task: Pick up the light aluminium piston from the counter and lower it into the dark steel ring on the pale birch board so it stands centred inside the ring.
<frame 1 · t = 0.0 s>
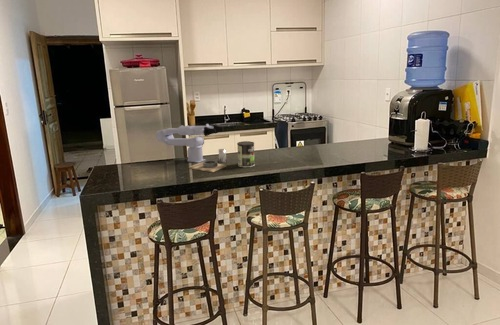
hand: (219, 130, 222), 22 cm above the table, tool horizontal, fingers open, 7 cm apart
steel ring: (210, 167, 221), resting on birch board
aluminium piston: (222, 161, 235), on the table
coffee can: (246, 165, 225), on the table
birch board: (208, 167, 222), on the table
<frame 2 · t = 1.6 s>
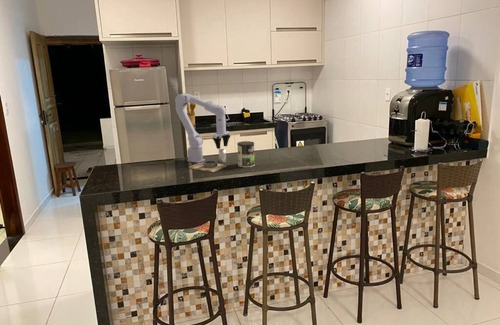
hand: (222, 147, 232), 9 cm above the table, tool pointing down, fingers open, 7 cm apart
nothing on the table moved.
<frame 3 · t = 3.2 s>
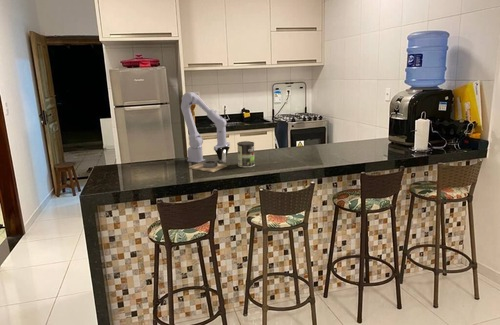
hand: (222, 158, 234), 2 cm above the table, tool pointing down, fingers closed on aluminium piston, 4 cm apart
aluminium piston: (222, 161, 235), on the table, touching gripper
everything else where it was.
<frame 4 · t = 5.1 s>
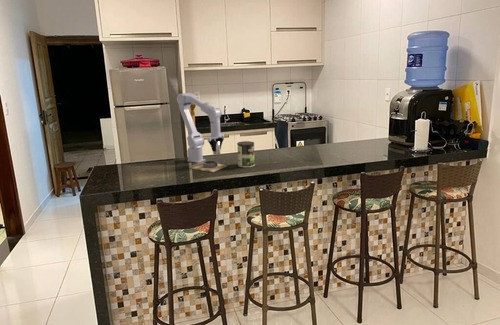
hand: (216, 150, 226), 9 cm above the table, tool pointing down, fingers closed on aluminium piston, 4 cm apart
aluminium piston: (216, 153, 227), point 7 cm above the table, touching gripper
everything else where it was.
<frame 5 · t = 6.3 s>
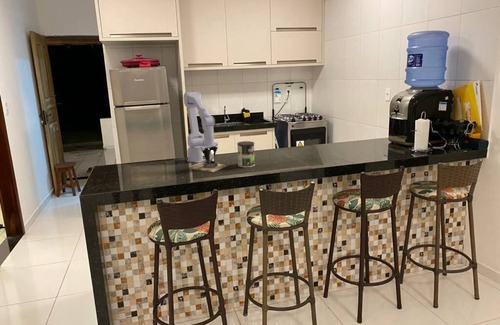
hand: (210, 159, 220), 5 cm above the table, tool pointing down, fingers closed on aluminium piston, 4 cm apart
aluminium piston: (210, 163, 221), point 3 cm above the table, touching gripper
everything else where it was.
when the fingers open (4 cm above the table, at t = 7.3 s): aluminium piston drops 1 cm, resting on birch board.
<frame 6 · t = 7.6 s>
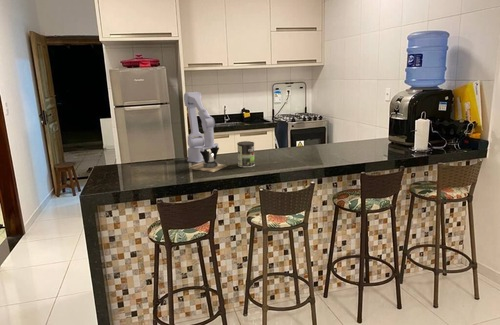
hand: (210, 160, 220), 5 cm above the table, tool pointing down, fingers open, 7 cm apart
aluminium piston: (210, 166, 221), point 1 cm above the table, touching birch board
everything else where it was.
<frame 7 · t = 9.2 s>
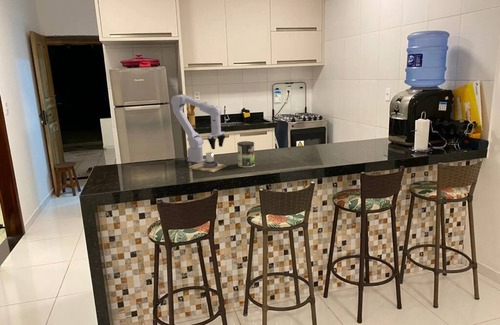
hand: (217, 147, 231), 9 cm above the table, tool pointing down, fingers open, 7 cm apart
nothing on the table moved.
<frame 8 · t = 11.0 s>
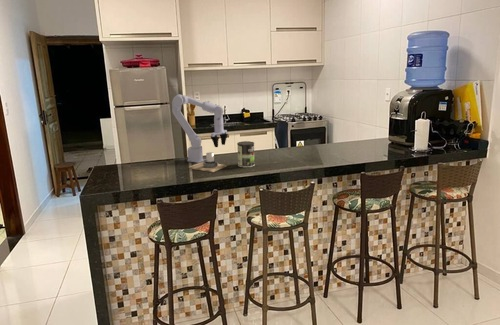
hand: (219, 145, 237), 9 cm above the table, tool pointing down, fingers open, 7 cm apart
nothing on the table moved.
at the end: aluminium piston 0.0 cm from the steel ring (horizontally); aluminium piston point 1.0 cm above the table; aluminium piston tilted 1° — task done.
